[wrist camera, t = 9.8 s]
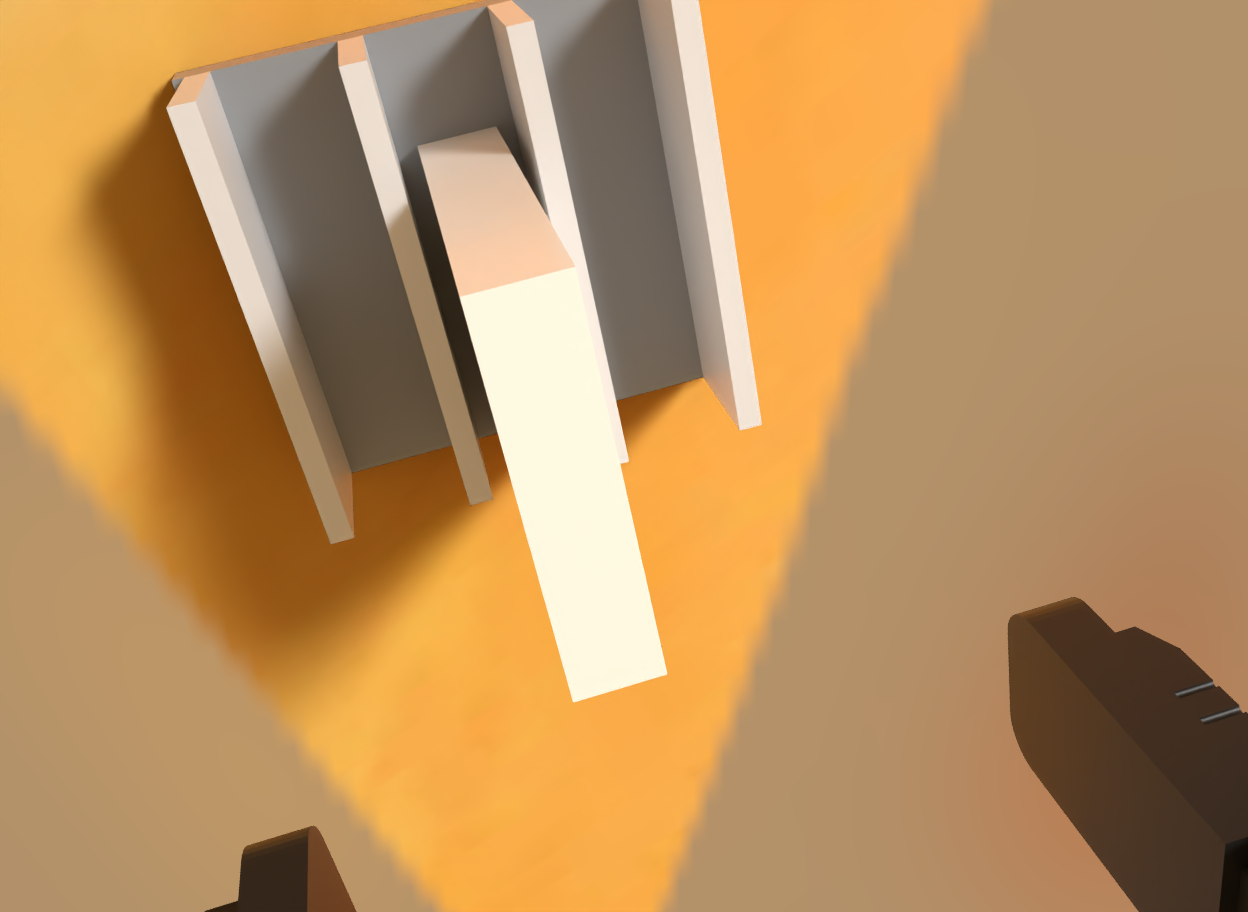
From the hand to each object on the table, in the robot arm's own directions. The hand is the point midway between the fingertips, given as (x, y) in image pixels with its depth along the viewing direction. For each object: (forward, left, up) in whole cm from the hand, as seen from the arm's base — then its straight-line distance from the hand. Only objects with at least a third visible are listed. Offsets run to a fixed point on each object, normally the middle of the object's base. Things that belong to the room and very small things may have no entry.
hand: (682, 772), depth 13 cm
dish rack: (0, 0, -21) cm, 21 cm away
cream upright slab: (+2, 0, -20) cm, 20 cm away
